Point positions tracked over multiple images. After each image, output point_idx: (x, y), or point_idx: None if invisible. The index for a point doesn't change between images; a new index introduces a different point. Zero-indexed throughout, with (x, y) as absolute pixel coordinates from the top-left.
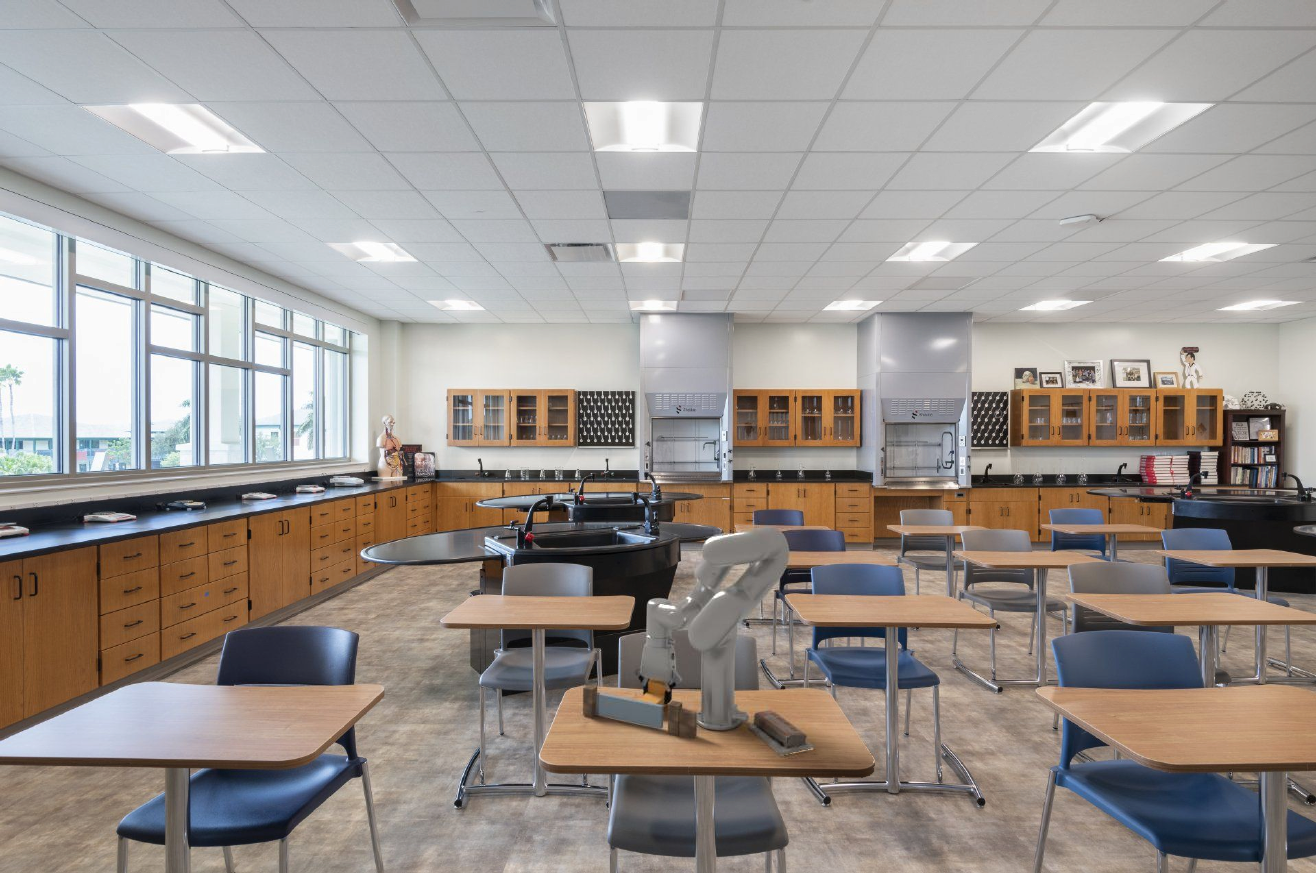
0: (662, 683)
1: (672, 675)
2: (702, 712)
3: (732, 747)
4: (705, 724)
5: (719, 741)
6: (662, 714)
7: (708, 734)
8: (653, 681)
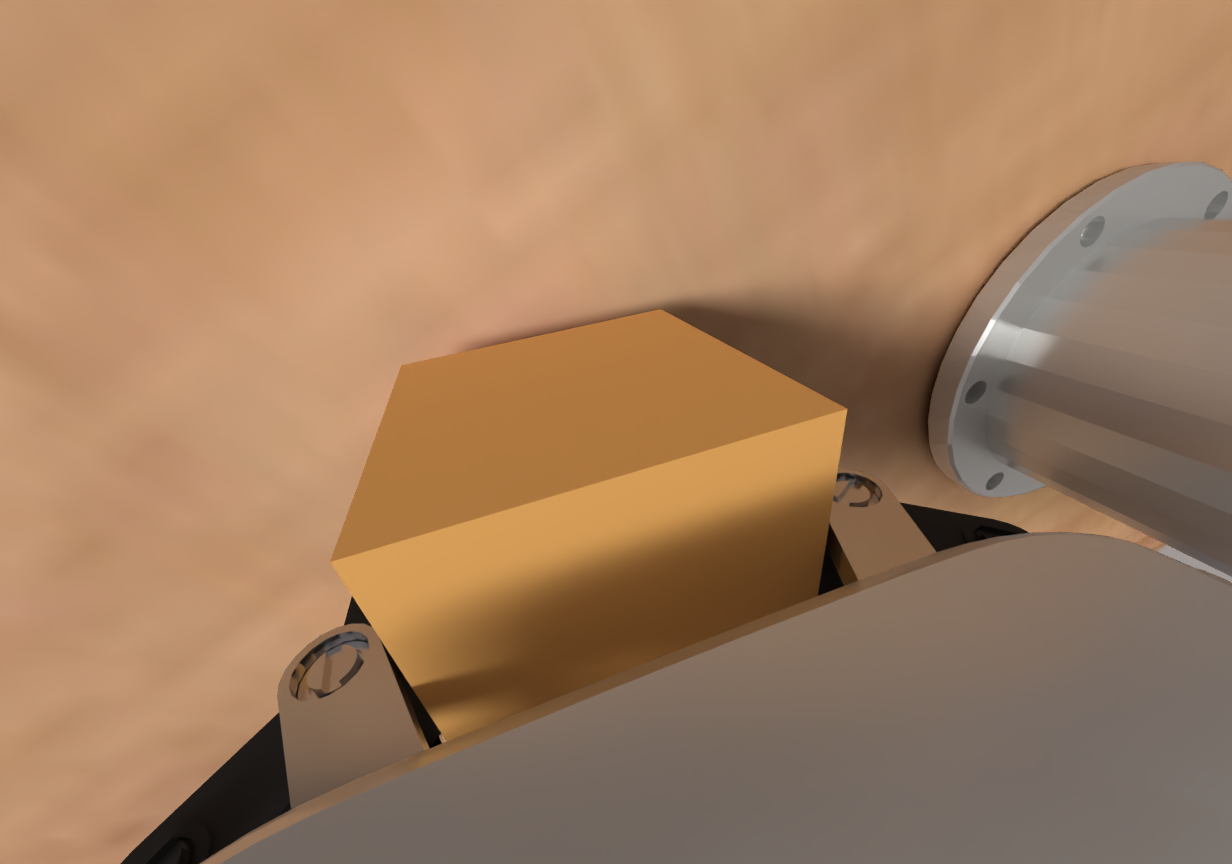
0: (734, 615)
1: (1056, 574)
2: (1049, 483)
3: (1083, 532)
4: (1009, 495)
5: (1039, 530)
6: None
7: (995, 515)
8: (534, 681)
